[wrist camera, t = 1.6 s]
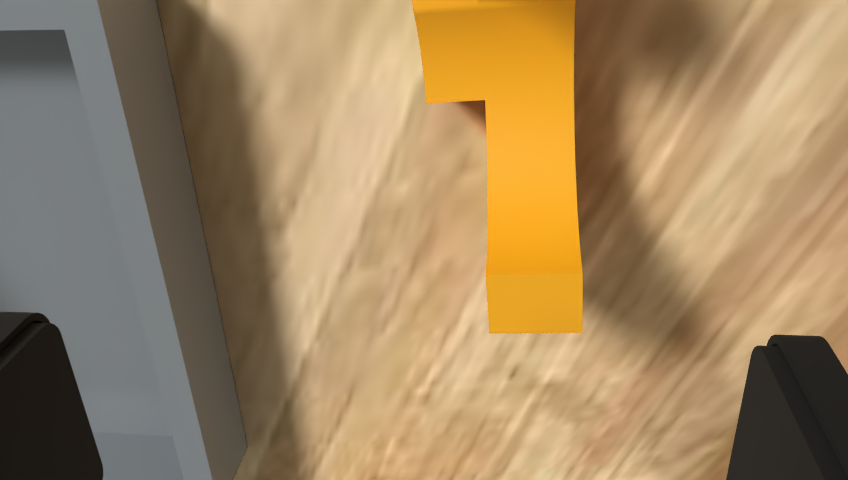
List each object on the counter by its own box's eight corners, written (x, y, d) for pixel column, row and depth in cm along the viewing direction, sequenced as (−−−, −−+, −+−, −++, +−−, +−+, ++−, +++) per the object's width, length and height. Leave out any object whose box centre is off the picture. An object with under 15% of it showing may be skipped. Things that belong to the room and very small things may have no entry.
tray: (149, -36, 24) (93, -16, 21) (247, 447, 33) (219, 509, 30) (-228, -27, 25) (-331, -6, 22) (-30, 431, 35) (-82, 489, 32)
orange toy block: (414, -141, 22) (376, -129, 16) (568, -157, 21) (585, -151, 15) (448, 229, 27) (428, 334, 22) (570, 225, 27) (582, 332, 21)
